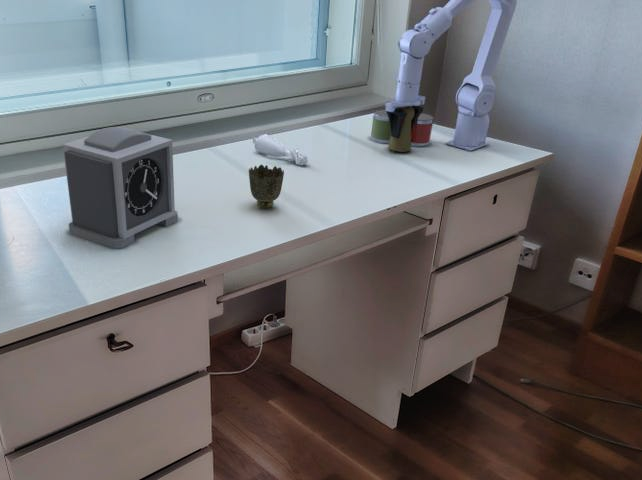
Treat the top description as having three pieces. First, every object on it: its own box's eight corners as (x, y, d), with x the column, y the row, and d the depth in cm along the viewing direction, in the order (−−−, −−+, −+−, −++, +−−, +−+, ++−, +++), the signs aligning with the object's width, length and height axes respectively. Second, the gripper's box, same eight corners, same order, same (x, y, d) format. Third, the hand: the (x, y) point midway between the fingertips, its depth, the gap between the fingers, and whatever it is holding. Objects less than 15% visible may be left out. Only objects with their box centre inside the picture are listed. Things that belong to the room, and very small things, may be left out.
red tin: (406, 137, 197) (410, 111, 193) (432, 141, 194) (436, 115, 190) (399, 143, 191) (403, 117, 187) (425, 148, 189) (429, 121, 185)
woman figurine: (272, 127, 182) (323, 148, 173) (271, 144, 185) (320, 165, 175) (240, 135, 175) (291, 157, 166) (239, 152, 178) (289, 175, 168)
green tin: (392, 135, 198) (395, 110, 194) (400, 143, 191) (404, 117, 187) (367, 135, 196) (370, 110, 192) (374, 143, 190) (378, 117, 186)
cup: (286, 203, 149) (288, 167, 145) (275, 215, 143) (277, 177, 139) (254, 198, 151) (255, 162, 147) (242, 209, 145) (243, 172, 141)
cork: (412, 152, 183) (418, 109, 177) (389, 151, 183) (395, 108, 177) (408, 145, 188) (415, 103, 182) (386, 144, 188) (392, 102, 182)
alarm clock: (118, 250, 126) (109, 150, 116) (66, 232, 132) (53, 135, 121) (180, 219, 139) (177, 127, 129) (131, 204, 145) (124, 115, 135)
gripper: (404, 88, 169) (397, 143, 177) (437, 81, 178) (429, 134, 186) (382, 83, 173) (375, 137, 181) (415, 76, 182) (407, 128, 190)
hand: (401, 135), depth 183 cm, fingers closed on cork, 5 cm apart
